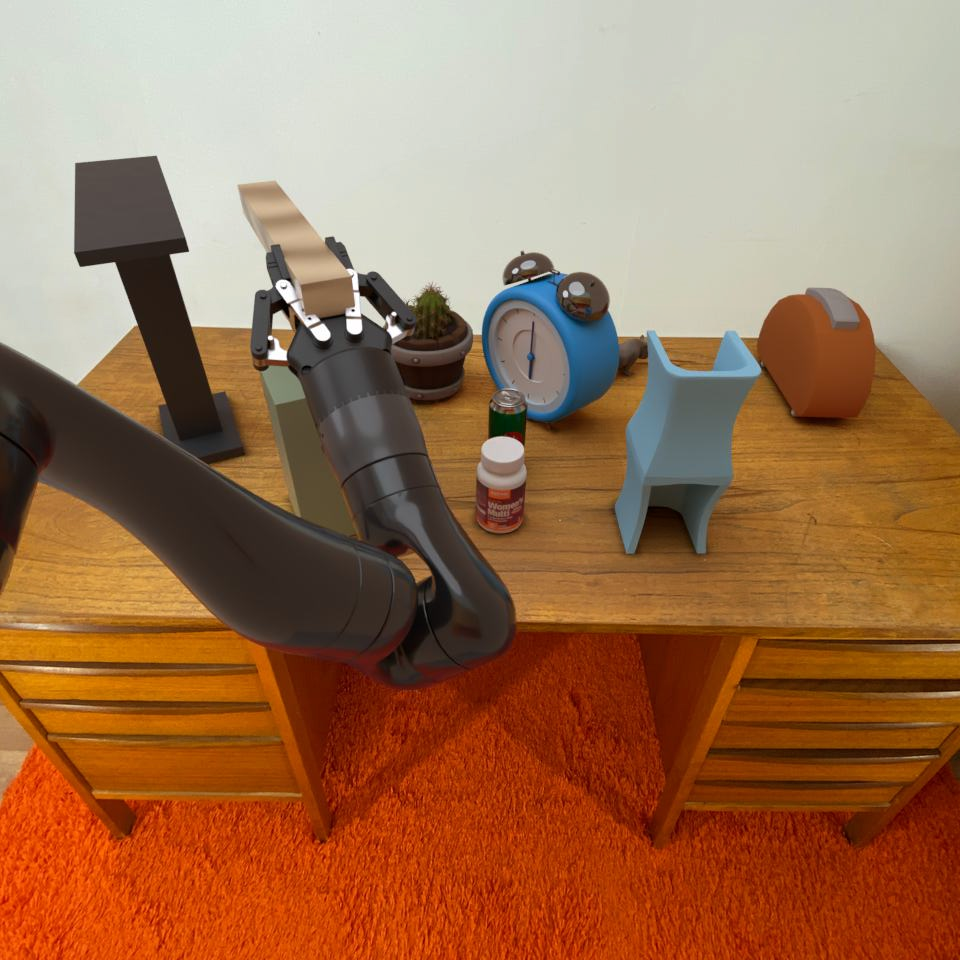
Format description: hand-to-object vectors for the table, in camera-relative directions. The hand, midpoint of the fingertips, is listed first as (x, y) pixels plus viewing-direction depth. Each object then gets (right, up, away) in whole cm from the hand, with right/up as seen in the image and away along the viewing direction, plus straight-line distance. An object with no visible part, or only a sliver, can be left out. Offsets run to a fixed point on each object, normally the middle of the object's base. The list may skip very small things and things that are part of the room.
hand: (302, 248), depth 54 cm
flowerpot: (+7, -4, +52) cm, 53 cm away
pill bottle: (+18, -25, +29) cm, 42 cm away
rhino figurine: (+40, -1, +58) cm, 70 cm away
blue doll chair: (+38, -26, +28) cm, 54 cm away
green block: (-4, -24, +29) cm, 38 cm away
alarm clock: (+25, -8, +49) cm, 55 cm away
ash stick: (-3, +2, +6) cm, 7 cm away
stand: (-27, -13, +42) cm, 51 cm away
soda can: (+19, -18, +37) cm, 45 cm away
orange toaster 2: (+69, -4, +54) cm, 87 cm away
